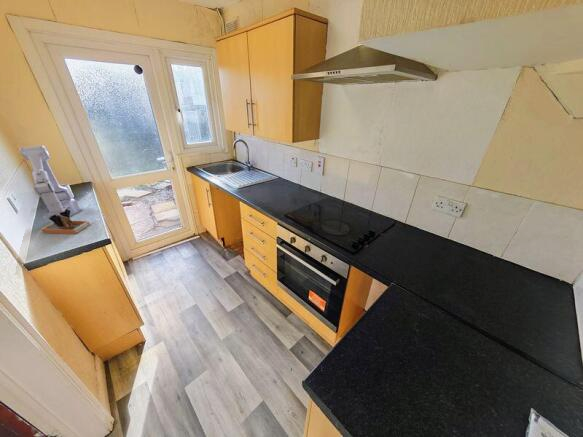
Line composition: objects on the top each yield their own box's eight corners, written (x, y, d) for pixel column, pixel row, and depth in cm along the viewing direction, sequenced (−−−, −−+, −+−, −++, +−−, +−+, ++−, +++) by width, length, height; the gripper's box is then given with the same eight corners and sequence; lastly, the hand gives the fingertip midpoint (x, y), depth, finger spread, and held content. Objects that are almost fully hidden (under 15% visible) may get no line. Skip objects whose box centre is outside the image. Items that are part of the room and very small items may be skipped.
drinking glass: (76, 195, 174) (70, 183, 169) (71, 199, 169) (65, 186, 164) (66, 196, 173) (60, 184, 168) (61, 200, 167) (54, 187, 162)
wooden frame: (59, 223, 138) (57, 220, 137) (90, 224, 138) (88, 221, 137) (43, 232, 129) (40, 229, 128) (75, 233, 129) (73, 230, 128)
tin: (55, 227, 134) (48, 215, 130) (62, 224, 137) (55, 212, 133) (71, 232, 130) (64, 220, 125) (77, 229, 132) (70, 217, 128)
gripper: (47, 209, 119) (59, 231, 126) (71, 198, 132) (81, 218, 138) (34, 209, 119) (47, 230, 126) (59, 197, 132) (70, 218, 138)
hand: (64, 224), depth 132 cm, fingers closed on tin, 4 cm apart
